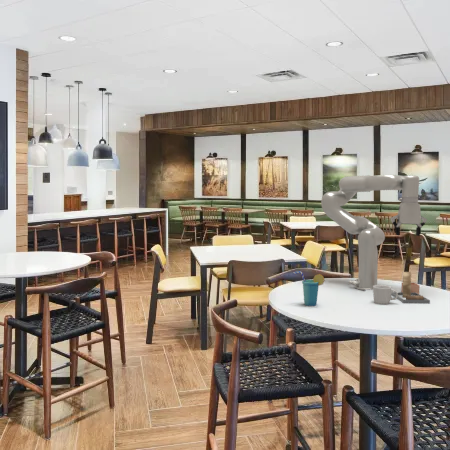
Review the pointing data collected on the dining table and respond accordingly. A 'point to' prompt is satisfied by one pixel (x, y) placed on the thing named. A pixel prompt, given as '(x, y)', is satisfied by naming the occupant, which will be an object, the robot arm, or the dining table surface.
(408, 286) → the oak dowel
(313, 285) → the cup
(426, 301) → the tray
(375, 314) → the dining table surface
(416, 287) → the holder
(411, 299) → the walnut dowel
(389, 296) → the cup
